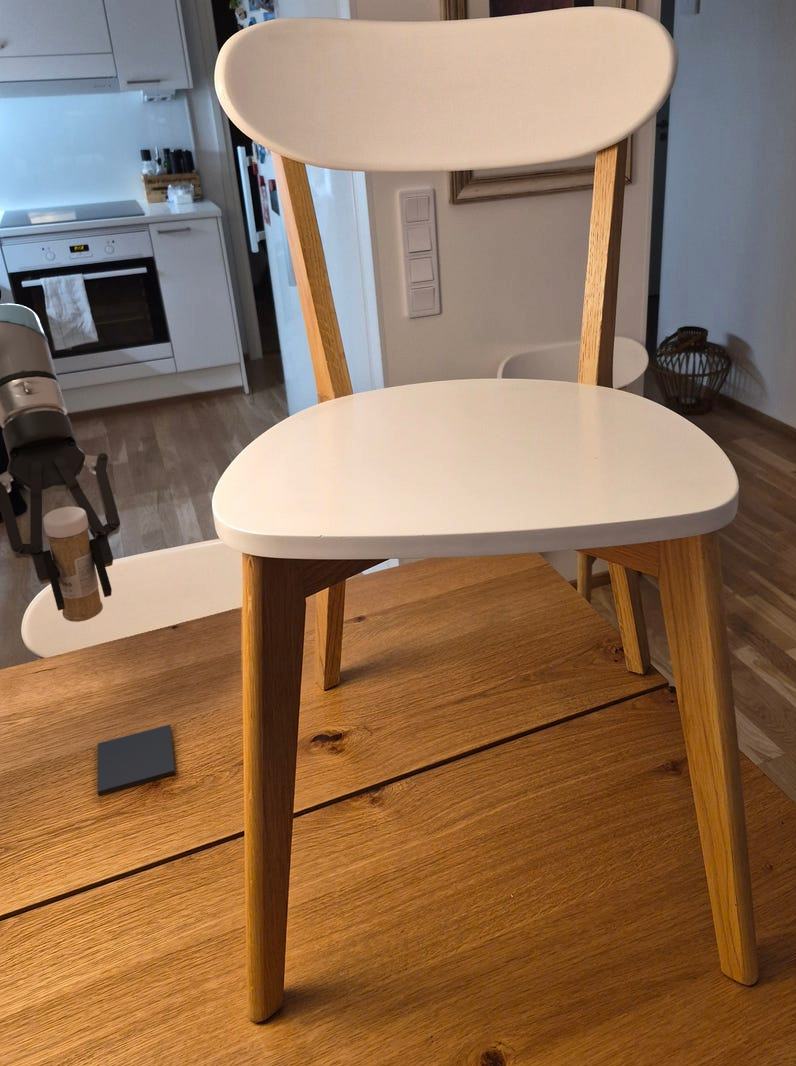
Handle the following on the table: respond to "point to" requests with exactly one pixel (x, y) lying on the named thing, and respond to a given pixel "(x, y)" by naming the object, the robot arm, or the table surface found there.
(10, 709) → the table surface
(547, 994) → the table surface
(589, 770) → the table surface
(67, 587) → the sprinkles bottle
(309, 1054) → the table surface
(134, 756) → the mat
